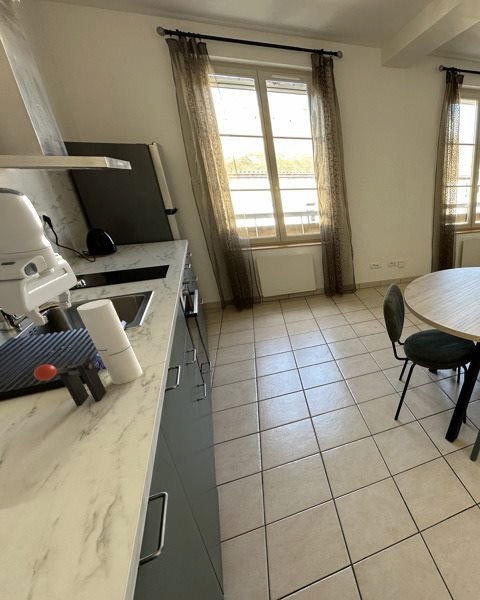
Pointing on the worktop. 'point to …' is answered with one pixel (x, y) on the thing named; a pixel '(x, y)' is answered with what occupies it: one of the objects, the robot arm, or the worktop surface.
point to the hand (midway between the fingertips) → (54, 315)
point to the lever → (53, 371)
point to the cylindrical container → (110, 340)
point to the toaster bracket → (77, 386)
